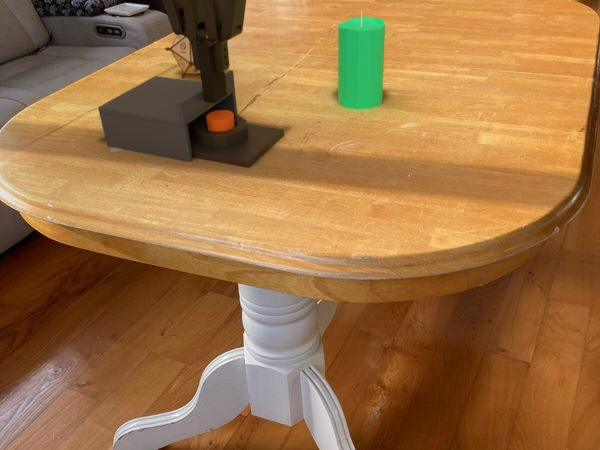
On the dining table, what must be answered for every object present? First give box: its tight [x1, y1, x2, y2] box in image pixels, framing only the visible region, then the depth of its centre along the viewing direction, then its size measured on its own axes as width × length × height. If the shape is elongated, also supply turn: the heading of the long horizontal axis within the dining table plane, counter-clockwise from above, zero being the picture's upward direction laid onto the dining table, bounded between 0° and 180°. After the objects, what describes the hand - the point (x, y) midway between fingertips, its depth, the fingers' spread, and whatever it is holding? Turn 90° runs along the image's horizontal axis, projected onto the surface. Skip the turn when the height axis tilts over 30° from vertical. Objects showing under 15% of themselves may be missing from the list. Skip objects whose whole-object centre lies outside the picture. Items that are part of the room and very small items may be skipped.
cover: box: [97, 69, 239, 163], centre depth 71 cm, size 12×11×7 cm
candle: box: [337, 10, 386, 110], centre depth 76 cm, size 6×6×12 cm
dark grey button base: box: [187, 115, 285, 169], centre depth 70 cm, size 16×9×2 cm, turn 66°
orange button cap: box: [206, 110, 235, 132], centre depth 69 cm, size 3×3×2 cm
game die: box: [164, 34, 207, 79], centre depth 89 cm, size 9×8×10 cm
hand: (215, 97), depth 67 cm, fingers closed
